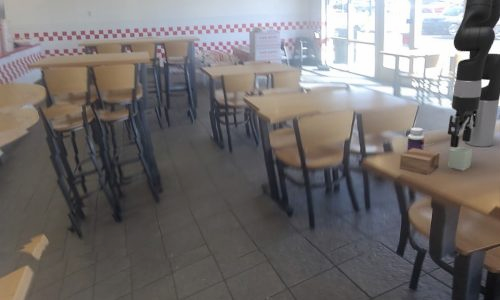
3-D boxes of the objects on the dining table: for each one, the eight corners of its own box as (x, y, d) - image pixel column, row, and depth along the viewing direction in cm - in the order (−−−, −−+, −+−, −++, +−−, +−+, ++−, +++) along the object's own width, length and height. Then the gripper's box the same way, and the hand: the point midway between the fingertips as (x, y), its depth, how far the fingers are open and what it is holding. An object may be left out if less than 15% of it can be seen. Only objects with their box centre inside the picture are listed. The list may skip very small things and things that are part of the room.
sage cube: (454, 162, 137) (456, 146, 135) (470, 166, 133) (472, 149, 131) (447, 167, 134) (449, 149, 132) (463, 170, 130) (465, 153, 128)
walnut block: (411, 161, 141) (412, 147, 139) (438, 167, 135) (439, 152, 133) (399, 169, 135) (400, 154, 133) (427, 175, 129) (428, 160, 127)
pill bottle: (424, 157, 143) (426, 131, 139) (407, 157, 144) (409, 131, 141) (421, 152, 148) (423, 126, 144) (405, 152, 149) (407, 126, 146)
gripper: (464, 89, 133) (458, 137, 138) (443, 96, 124) (437, 146, 129) (489, 92, 127) (481, 141, 132) (469, 99, 119) (462, 151, 124)
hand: (460, 144), depth 131 cm, fingers open, 8 cm apart
